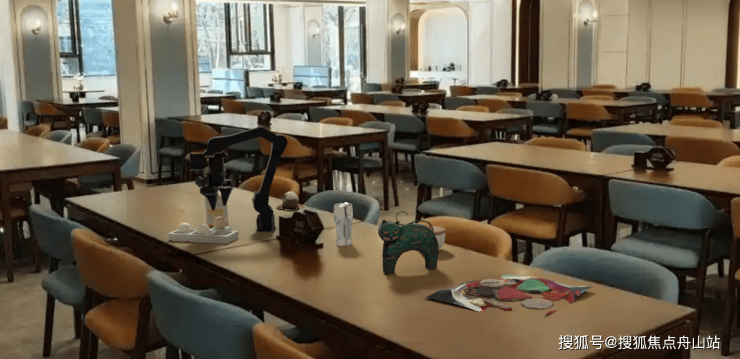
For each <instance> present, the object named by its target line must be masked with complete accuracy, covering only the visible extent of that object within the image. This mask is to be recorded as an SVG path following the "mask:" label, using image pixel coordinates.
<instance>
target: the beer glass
mask: <svg viewBox="0 0 740 359" xmlns="http://www.w3.org/2000/svg"><path fill="white" fill-rule="evenodd" d="M353 212H354V211H353V204H352V203H351V202H339V203H335V204H333V221H334V226H335V231H336V232H335V233H336V243H335V245H336V247H350V246H352V245H353V238H352V227H353V223H354V222H353V220H354V219H353V218H354V215H353V214H354V213H353Z"/></svg>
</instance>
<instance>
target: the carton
mask: <svg viewBox="0 0 740 359" xmlns="http://www.w3.org/2000/svg"><path fill="white" fill-rule="evenodd" d="M210 229H211V227H210V226H208V225H207V223H199V224H198V225H197V226H196V228H192V226H191V224H190V223H188V222H181V223H180V224H179V225H178V226H177V229H175V230H173V231H170V232H169V233H167V236H168V237H167V238H168V240H172V241H171V242H185V241H189V242H188V243H190V242H191V243H204V244H205V243H206V244H207V243H209V244H224V245H225V244H226V245H228V244H230V243H232V242H234V241H236V240H238V239H239V230H231V231H227V230H210Z"/></svg>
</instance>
